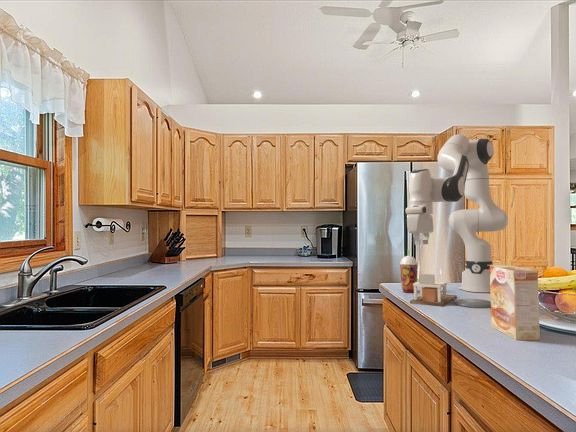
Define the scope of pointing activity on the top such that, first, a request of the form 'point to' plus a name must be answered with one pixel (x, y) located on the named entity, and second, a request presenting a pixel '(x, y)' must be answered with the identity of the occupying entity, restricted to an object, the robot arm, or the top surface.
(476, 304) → the saucer
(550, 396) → the top surface
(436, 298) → the block
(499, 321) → the coffeecake box
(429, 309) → the top surface
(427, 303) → the puzzle board
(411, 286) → the smoothie
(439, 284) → the cover
